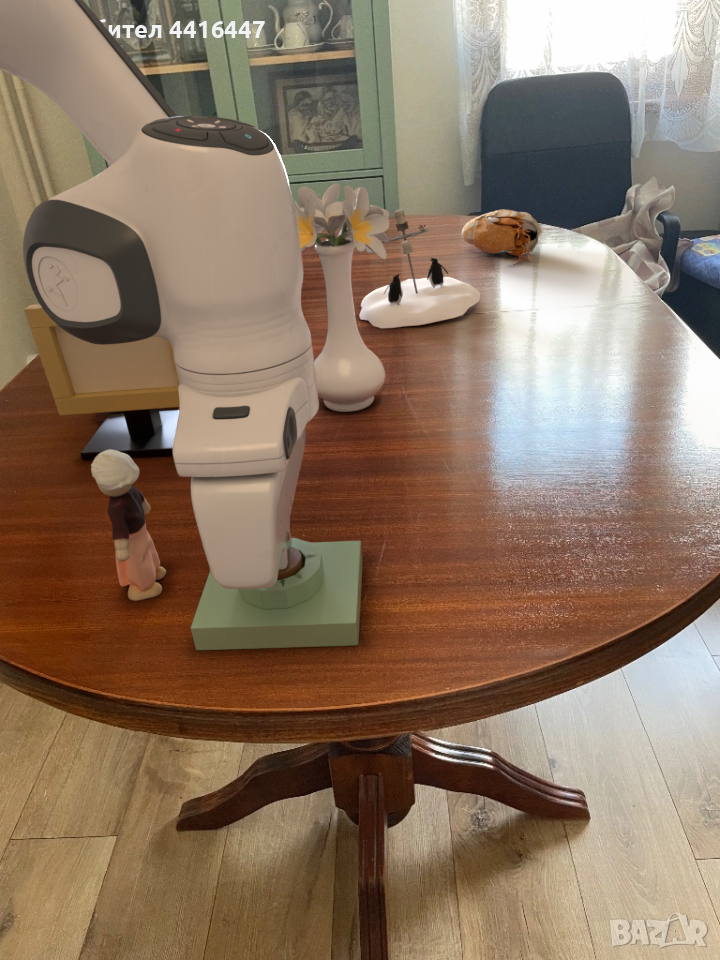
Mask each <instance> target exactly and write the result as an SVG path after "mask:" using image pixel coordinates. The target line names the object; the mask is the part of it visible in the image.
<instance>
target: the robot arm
mask: <svg viewBox="0 0 720 960" xmlns="http://www.w3.org/2000/svg"><path fill="white" fill-rule="evenodd" d="M0 71H3V72H5V73H7V74H9V75H12V76H14V77H16V78H18V79H20V80H22V81H24V82H26V83H28V84H29V85H31V86H33V87H34V88H36V89H37V90H38V91H40V92H41V93H43V94H44V95H45V96H47V97H48V98H49V99H50V100H51V101H53V102H54V103H55V104H56V105H57V106H58V107H59V108H60V109H61V111H63V113H64V114H65V115H66V116H67V117H68V119H69V120H70V121H71V122H72V123H73V125H74V126H76V128H77V129H78V130H79V131H80V133H82V135H83V136H84V137H85V139H86V140H88V142H89V143H90V144H91V145H92V146H93V148H94V149H95V150H96V151H97V152H98V153H99V155H100V156H101V157H102V158H103V159H104V160H105V161H106V163H107V164H108V165H109V166H108V167H107V168H105V169H104V170H102V171H100V172H99V173H97V174H96V175H94V176H93V177H90V178H89V179H87V180H85V181H83V182H82V183H80V184H77V185H75V186H73V187H71V188H69V189H66V190H64V191H62V192H60V193H58V194H56V195H54V196H52V197H50V198H49V199H47V200H45V201H42V202H40V203H39V204H38V205H37V206H36V207H35V208H34V209H33V211H32V212H31V214H30V215H29V218H28V220H27V223H26V226H25V228H24V232H23V233H24V234H23V241H22V258H23V264H24V269H25V272H26V276H27V279H28V282H29V285H30V288H31V290H32V292H33V295H34V297H35V298H36V300H37V302H38V304H40V305H41V307H42V308H43V310H44V311H45V312H46V314H47V315H48V316H49V317H50V318H51V319H52V320H53V321H54V322H55V323H56V324H57V325H58V326H59V327H60V328H62V329H63V330H65V331H66V332H68V333H69V334H71V335H73V336H75V337H77V338H79V339H81V340H84V341H87V342H89V343H93V344H100V345H106V344H120V343H128V342H134V341H139V340H143V339H146V338H149V337H161V338H163V339H166V340H167V341H168V342H169V343H170V344H171V347H172V350H173V356H174V362H175V367H176V371H177V376H178V380H179V387H178V394H179V402H180V407H179V416H178V422H177V428H176V433H175V438H174V442H173V456H172V458H173V462H174V466H175V469H176V470H175V471H176V473H177V475H178V476H179V477H182V478H190V498H191V499H190V500H191V505H192V510H193V514H194V518H195V522H196V526H197V529H198V534H199V537H200V540H201V544H202V548H203V550H204V554H205V558H206V560H207V563H208V567H209V571H210V570H211V573H212V575H213V577H214V579H215V581H216V582H217V583H218V584H219V585H221V586H222V587H223V588H225V589H260V588H269V587H272V586H273V585H275V583H276V581H277V577H278V571H279V570H283V569H285V568H286V567H287V564H288V559H289V553H290V548H291V544H292V540H291V538H292V533H291V514H292V509H293V505H294V499H295V495H296V491H297V485H298V482H299V477H300V472H301V465H302V462H303V457H304V453H305V448H306V442H307V439H306V438H307V435H306V434H307V433H306V427H307V424H309V422H311V420H313V419H314V418H315V416H316V415H317V413H318V412H319V409H320V399H319V397H318V391H317V382H316V373H315V364H314V361H315V357H314V349H313V340H312V334H311V330H310V328H309V325H308V323H307V320H306V318H305V316H304V312H303V308H302V288H303V283H304V275H305V274H304V262H303V254H302V253H301V246H300V239H299V232H298V226H297V219H296V213H295V208H294V203H293V199H294V198H293V194H292V190H291V186H290V181H289V178H288V174H287V171H286V167H285V165H284V163H283V160H282V157H281V154H280V153H279V150H278V149H277V146H276V144H275V143H274V142H273V140H272V139H271V138H270V136H269V135H268V134H267V133H265V132H263V131H262V130H260V129H259V128H257V127H256V126H255V125H252V124H250V123H247V122H243V121H241V120H238V119H232V118H228V117H227V118H225V117H220V116H209V115H207V116H194V115H181V116H180V115H179V116H178V115H177V113H176V112H175V111H174V110H173V109H172V107H171V106H170V104H168V102H167V101H166V100H165V98H163V96H162V95H161V93H160V92H159V91H158V90H157V89H156V87H155V86H154V85H153V84H152V82H151V81H150V80H149V79H148V78H147V76H146V75H145V73H143V71H142V70H141V69H140V68H139V67H138V65H137V64H136V63H135V62H134V60H133V59H132V58H131V56H130V55H129V54H128V53H127V52H126V50H125V49H124V48H123V46H121V44H120V43H119V41H118V40H117V39H116V38H115V37H114V35H113V34H112V33H111V32H110V31H109V29H108V28H107V26H105V25H104V23H103V22H102V21H101V19H100V18H99V17H98V16H97V15H96V14H95V12H94V11H93V10H92V9H91V8H90V6H88V4H87V3H86V2H85V0H0Z"/></svg>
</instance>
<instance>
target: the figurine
mask: <svg viewBox="0 0 720 960" xmlns="http://www.w3.org/2000/svg"><path fill="white" fill-rule="evenodd" d="M394 218H395V220H396V224H395V227H396V231H397V232H402V235H398V236H394V237H390V238H389V240H390V241H389V242H384V241H381V240H380V241H381V243H382V244H387V243H388V244H389V243H390V244H395V243H396V244H397V243H399V241H400V240H403V241H401V244H400V247H401V252H402V255H407V260H408V264H409V269H410V273H411V278H408V279H406V280H402V281H401V280H400V273H398V274H396V275H394V276H393V277H392V281H391V282H390V284H386V285H385V286H382V287H378V288H376V289H374V290H373V291H371V292H369V293H368V294H367V295H365V296H364V297H363V299H362V300H361V303H360V307H361V309H360V312H359V314H358V316H359V319H360V320H363V321H368V322H369V323H370V324H371V325H372V326H373V327H376V328H379V329H394V328H401V327H412V326H421V325H427V324H432V323H436V322H441V321H446V320H450V319H454V318H458V317H460V316H461V317H462V316H464V315H465V313H466V312H467V311H468V310H469V309H470V308H471V307H473V306H474V305H476V304H477V303H479V301H480V299H481V293H480V291H479V290H478V289H476V288H475V287H474V286H473V285H471V284H470V283H466V282H463V281H461V280H458V279H456V278H453V277H450V276H444V273H443V270H444V272H445V273H446V274H447V275H449V272H448V271H447V269H446V268H445V266H443V264H441V263H440V262H439V259H438V258H436V257H430V262H431V264H430V267H429V269H428V272H427V273H428V274H427V277H423V278H415V273H414V269H413V264H412V260H411V255H410V254H411V253H413V252H414V250H413V246H412V242H411V241H410V240H411V239H412V237H413V238H415V237H416V236H418V235H421V234H424V233H427V232H429V231H430V230H429V228H425V227H426V224H424V225H422V224H419V226H418V228H417V229H419V230H417V231H414V232H410V233H406V230H409V223H408V220H406V215H405V211H404V209H403V208H399V209H398V208H397V209H396V210H394ZM386 235H387V234H386ZM387 236H388V237H389V236H390V235H387Z"/></svg>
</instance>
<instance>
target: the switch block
mask: <svg viewBox="0 0 720 960" xmlns="http://www.w3.org/2000/svg"><path fill="white" fill-rule="evenodd" d="M291 540H292V544H291V546H292V547H294V548H296V549H297V550H298V551H299V552H300V553H301V558H302V564H303V568H302V569H301V570H300V571H299V572H298V573H297V574H296V575H294V576H291V577H288V578H286V579H283V580H277V581H276V583H275V585H273V586H272V587H269V588H260V589H225V588H223V587H222V586H221V585H219V584H218V583H217V582H216V581H215V579H214V577H213V575H212V573H211V570H210V569H209V573H208V576H207V579H206V582H205V584H204V587H203V590H202V593H201V596H200V599H199V601H198V605H197V607H196V609H195V614H194V616H193V619H192V623H191V625H190V632H191V636H192V639H193V644H194V648H195V651H227V650H253V649H254V650H255V649H284V648H285V649H288V648H319V647H345V646H346V647H348V646H349V647H351V646H359V643H360V640H359V639H360V625H361V624H360V621H361V604H362V603H361V602H362V601H361V600H362V584H363V583H362V582H363V565H364V564H363V563H364V562H363V561H364V560H363V549H362V541H361V540H344V541H342V540H339V541H320V542H319V541H318V542H317V541H316V542H310V541H307V540H304V539H300V538H297V537H291Z"/></svg>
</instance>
